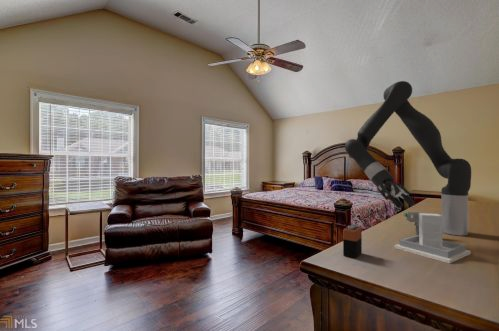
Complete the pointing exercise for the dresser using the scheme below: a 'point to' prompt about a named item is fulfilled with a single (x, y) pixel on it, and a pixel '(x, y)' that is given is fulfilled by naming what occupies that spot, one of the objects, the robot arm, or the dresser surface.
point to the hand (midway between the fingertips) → (407, 205)
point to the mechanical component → (413, 219)
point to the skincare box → (430, 230)
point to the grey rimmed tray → (433, 249)
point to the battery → (352, 241)
